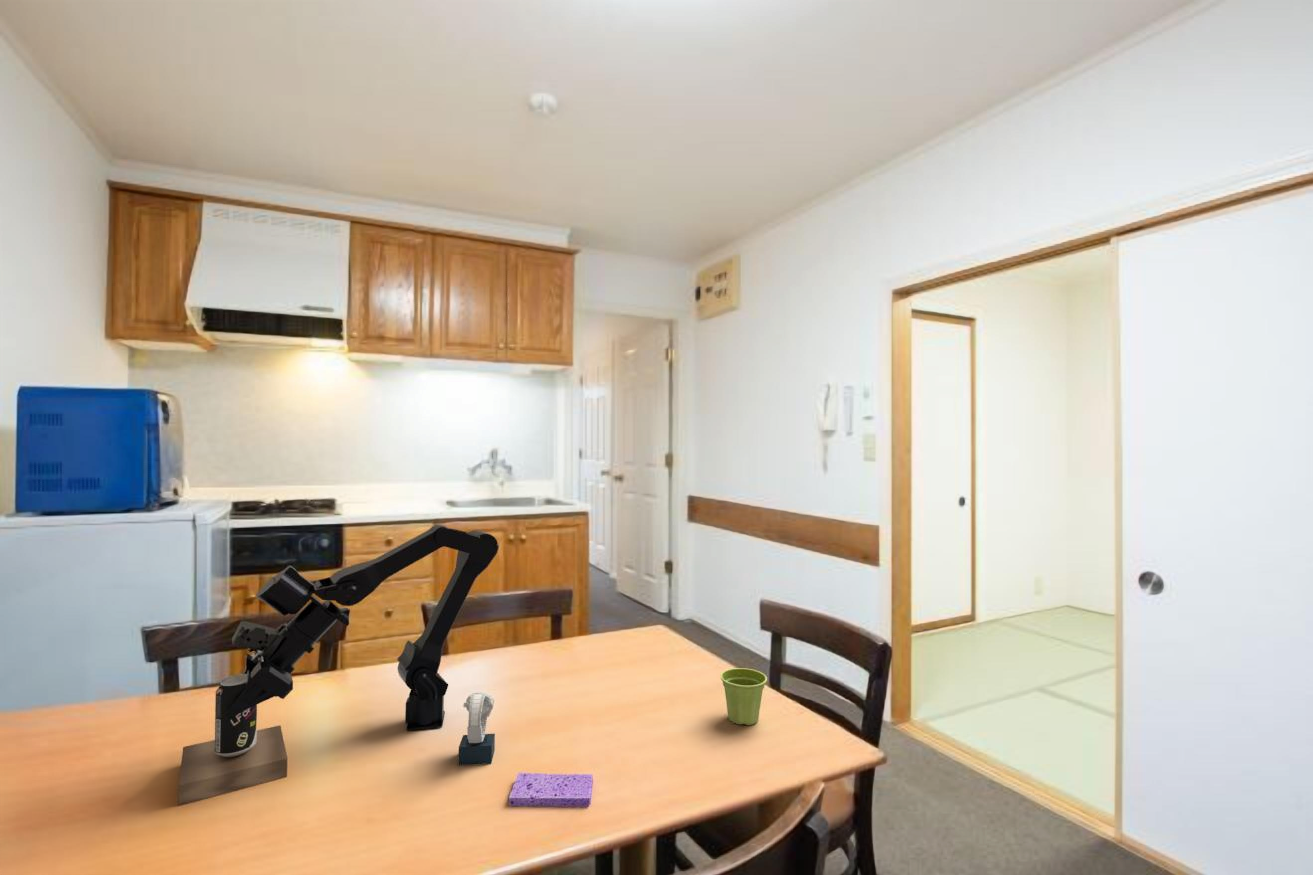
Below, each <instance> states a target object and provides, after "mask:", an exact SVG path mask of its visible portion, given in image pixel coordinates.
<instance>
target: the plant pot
mask: <svg viewBox="0 0 1313 875" xmlns="http://www.w3.org/2000/svg"><path fill="white" fill-rule="evenodd" d="M720 680H721V681H722V685H723V687H724V692H725V693H724V696H725V701H726V702H725V703H726V711H727V718H728V720H729V721H730V722H731V721H732V722H731V723H732V724H733V723H734V724H735V723H736V724H735V725H738V724H739V726H740V725H747V726H751V725H754V724H757V723H758V721H759V719H760V718H759V717H760V712H761V711H760V710H761V704H762V699H763V697H762V696H763V690H764V689H765V684H766V683H767V681H768V677H767V676H766V674H765V673H763V672H761V671H758V670H756V669H751V668H743V667H741V668H740V667H739V668H736V667H735V668H728V669H726V670H723V671H722V672H721V673H720Z"/></svg>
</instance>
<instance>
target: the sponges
mask: <svg viewBox="0 0 1313 875" xmlns="http://www.w3.org/2000/svg"><path fill="white" fill-rule="evenodd" d="M593 784H594V774H593V773H592V774H591V773H590V774H589V773H585V774H584V773H583V774H580V773H572V774H571V773H570V774H567V773H565V774H563V773H550V774H548V773H531V772H517V774H516V777H515V779H514V783H513V785H512V790H511V791H510V794H509V796H508V800H509V804H508V805H509V806H510V807H581V808H582V807H583V808H584V807H585V808H587V807H588V806H591V805H592V793H593V792H592V791H593Z"/></svg>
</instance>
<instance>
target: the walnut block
mask: <svg viewBox="0 0 1313 875" xmlns="http://www.w3.org/2000/svg"><path fill="white" fill-rule="evenodd" d="M283 736H284V735H283V732H282V726H281V724H280V725H274V726H271V727H266V728H262V729H257V742H256V744H255V745H254V746H253V747H252V748H250V749H249V750H248V751H247V752H245V753H243V754H240V755H237V756H232V757H224V756H221V755H218V754H216V753H215V739H212V740H208V741H204V742H200V743H195V744H191V745H187V746H186V745H185V746H182V753H181V762H180V763H181V764H180V769H179V770H180V772H179V779H178V780H179V781H178V786H177V787H178V788H177V789H178V791H177V793H178V795H177V796H178V797H177V805H178V806H177V807H180V806H183V805H187V804H190V803H194V802H198V801H202V800H204V799H205V800H206V799H209V798H212V797H216V796H220V795H223V794H228V793H232V792H235V791H239V790H243V789H247V788H249V787H254V786H258V785H261V784H265V783H268V782H274V781H276V780H279V779H284V778H287V777H288V754H287V751H286V750H287V749H286V745H285V740H284V737H283Z"/></svg>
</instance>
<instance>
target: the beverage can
mask: <svg viewBox="0 0 1313 875" xmlns="http://www.w3.org/2000/svg"><path fill="white" fill-rule="evenodd" d="M219 683H220V684H219V686H218V688H217V689H216V691H215V705H214V706H215V707H214V709H215V710H214V711H215V713H214V714H215V715H214V717H215V718H214V740H215V753H216V754H218V755H221V756H224V757H232V756H237V755H240V754H243V753H245V752H247V751H248V750H249V749H250V748H252V747H253V746H254V745H255V744H256V742H257V730H258V704H257V705H255V706H253V707H251V708H249V709H247V710H245V711H243V712H241V713H239V714H237V715H235V716H233V717H231V718H229V717H227V716H225V712H226V711H227V709H228V708H229V707H230V705H231V704H232V703H233V701H234V700H235V699H236V697H237V696H238V695H239V693H240V692H241V691H242V690H243V688H244V687H245V686H246V684H247V674H242V673H241V674H234V675H230V676H227V677H225V678H223V679H221V680H220V682H219Z"/></svg>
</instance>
